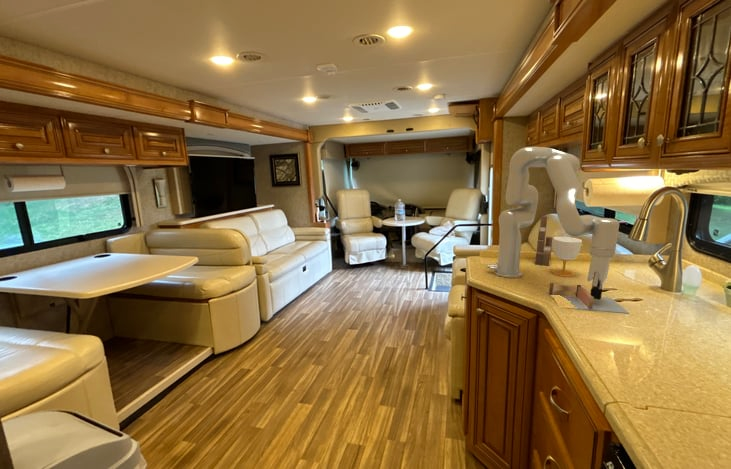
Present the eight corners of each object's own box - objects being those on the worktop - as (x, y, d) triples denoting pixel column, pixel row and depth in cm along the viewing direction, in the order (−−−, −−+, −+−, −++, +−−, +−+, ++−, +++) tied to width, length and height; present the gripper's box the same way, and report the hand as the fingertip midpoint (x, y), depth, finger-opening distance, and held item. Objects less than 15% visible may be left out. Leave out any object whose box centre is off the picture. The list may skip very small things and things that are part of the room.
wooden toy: (549, 266, 170) (554, 218, 165) (535, 264, 174) (539, 217, 169) (550, 259, 183) (555, 214, 178) (537, 257, 187) (541, 213, 182)
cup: (562, 269, 166) (565, 235, 162) (583, 276, 155) (588, 240, 151) (543, 271, 162) (547, 237, 159) (564, 279, 151) (569, 242, 148)
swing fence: (577, 296, 129) (578, 286, 128) (580, 296, 129) (581, 286, 128) (589, 308, 119) (590, 297, 118) (592, 308, 118) (594, 297, 118)
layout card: (559, 307, 121) (559, 306, 121) (548, 293, 134) (548, 292, 134) (628, 313, 116) (629, 312, 116) (610, 298, 129) (610, 297, 129)
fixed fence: (549, 294, 132) (550, 283, 131) (548, 293, 134) (549, 282, 133) (580, 297, 130) (581, 286, 129) (578, 295, 131) (580, 284, 130)
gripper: (594, 246, 130) (588, 290, 133) (585, 253, 119) (579, 301, 123) (618, 249, 125) (610, 295, 128) (611, 257, 114) (603, 307, 118)
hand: (595, 298), depth 126 cm, fingers closed
